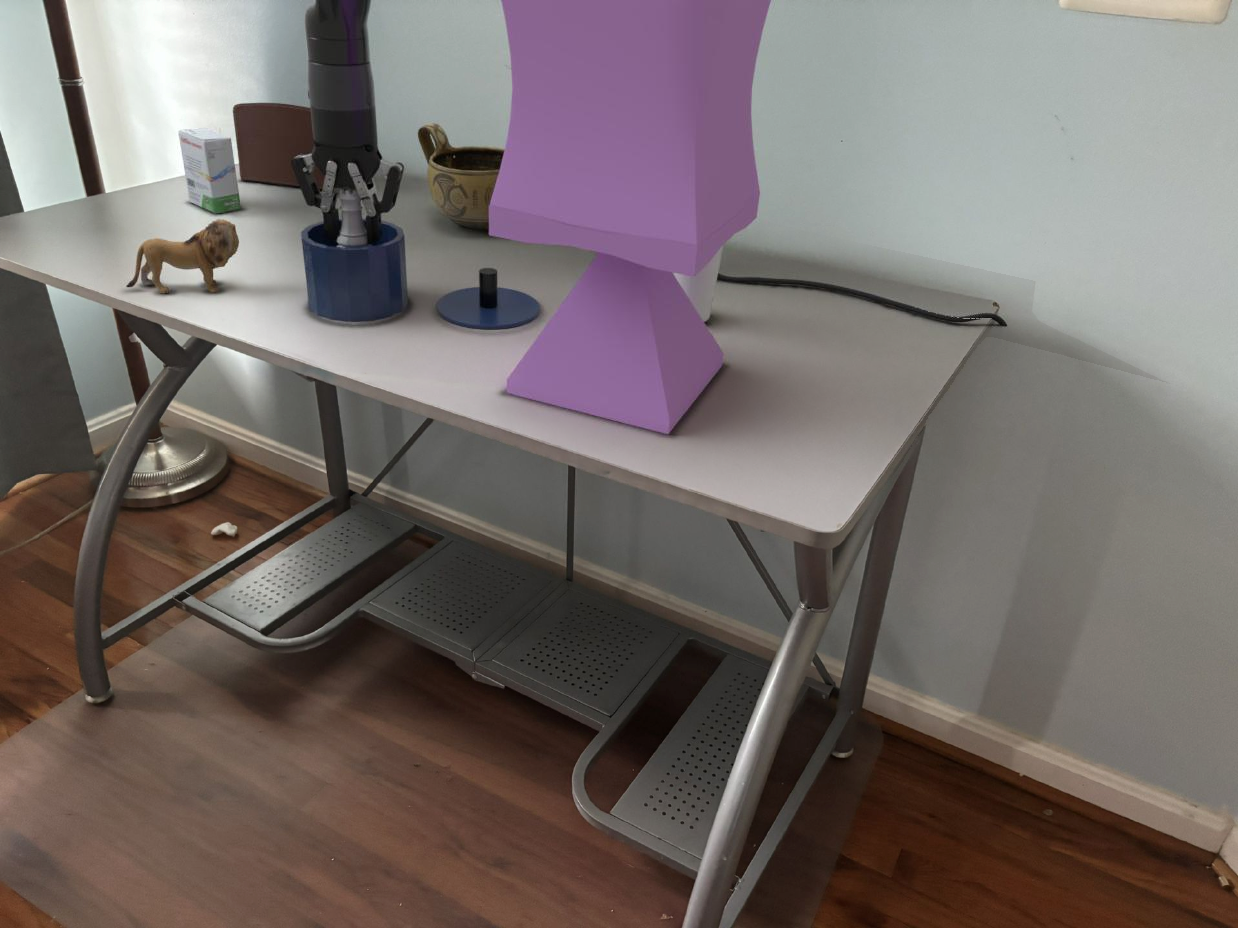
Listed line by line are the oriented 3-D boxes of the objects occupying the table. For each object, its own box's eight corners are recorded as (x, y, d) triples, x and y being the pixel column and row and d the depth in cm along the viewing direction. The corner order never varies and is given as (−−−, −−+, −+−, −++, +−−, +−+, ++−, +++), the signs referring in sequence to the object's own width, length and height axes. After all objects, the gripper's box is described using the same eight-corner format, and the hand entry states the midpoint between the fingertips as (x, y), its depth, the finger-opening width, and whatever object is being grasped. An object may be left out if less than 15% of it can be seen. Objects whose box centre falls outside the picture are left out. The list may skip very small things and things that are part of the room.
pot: (418, 294, 133) (415, 223, 127) (391, 329, 122) (387, 253, 117) (328, 285, 133) (321, 214, 128) (294, 320, 122) (285, 244, 117)
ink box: (242, 209, 159) (232, 136, 153) (214, 215, 156) (203, 140, 150) (216, 197, 164) (205, 126, 158) (188, 202, 160) (176, 129, 154)
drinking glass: (681, 330, 128) (693, 219, 120) (656, 311, 133) (666, 204, 125) (724, 323, 131) (738, 215, 123) (698, 305, 136) (710, 200, 128)
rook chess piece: (363, 258, 121) (358, 195, 117) (330, 253, 122) (324, 190, 118) (378, 247, 125) (374, 185, 121) (346, 243, 126) (340, 181, 122)
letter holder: (345, 193, 170) (338, 110, 163) (239, 181, 172) (228, 99, 165) (366, 179, 179) (361, 100, 171) (266, 168, 181) (256, 89, 174)
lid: (546, 299, 134) (547, 258, 131) (530, 338, 122) (531, 294, 119) (450, 290, 135) (449, 249, 131) (425, 328, 123) (423, 284, 120)
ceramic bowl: (563, 223, 163) (566, 133, 156) (512, 251, 150) (513, 153, 142) (452, 200, 171) (449, 112, 163) (394, 224, 157) (388, 130, 150)
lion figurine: (244, 277, 134) (235, 213, 129) (246, 291, 129) (236, 225, 125) (128, 284, 129) (114, 218, 124) (125, 299, 125) (111, 231, 120)
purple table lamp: (573, 326, 126) (589, -62, 103) (736, 363, 120) (793, -43, 96) (489, 395, 108) (486, -57, 85) (675, 443, 102) (727, -33, 78)
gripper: (410, 100, 117) (416, 237, 126) (295, 90, 118) (310, 227, 126) (392, 112, 111) (400, 256, 119) (271, 102, 111) (288, 245, 120)
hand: (353, 240), depth 123 cm, fingers closed on rook chess piece, 4 cm apart
